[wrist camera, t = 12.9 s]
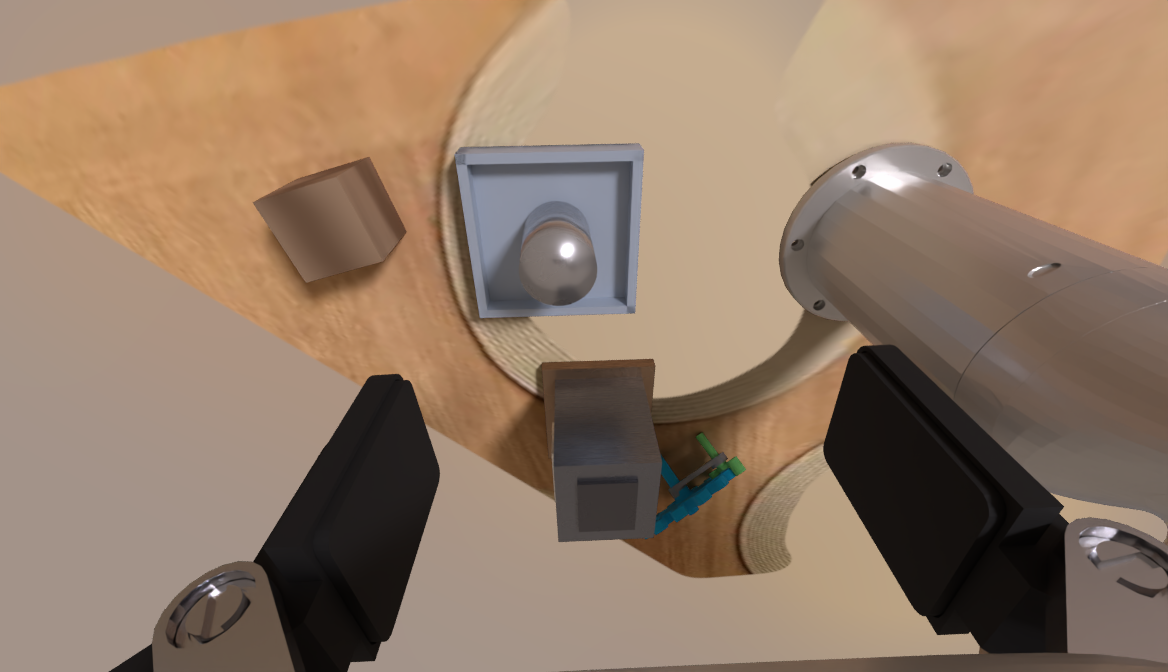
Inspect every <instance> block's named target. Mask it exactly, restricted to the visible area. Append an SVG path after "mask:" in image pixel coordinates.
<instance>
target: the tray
mask: <svg viewBox="0 0 1168 672" xmlns="http://www.w3.org/2000/svg"><path fill="white" fill-rule="evenodd" d="M643 158H644V149H643V148H642V147H641V145H640V144H639V143H636V144H591V145H590V144H589V145H541V146H493V147H461V148H460V149H459V150H458V151H457V152H456V153H455V161H456V167H457V173H458V180H459V186H460V193H461V199H462V206H463V212H464V219H465V225H466V232H467V238H468V245H469V251H470V258H471V264H472V270H473V277H474V283H475V290H476V296H477V303H478V309H479V316H480V318H498V317H530V316H560V315H561V316H563V315H595V314H628V313H635V306H636V288H637V269H638V251H639V232H640V213H641V196H642V177H643ZM551 201H561V202H566V203H569V204H571V205H573V206H575V207H576V208H577V209H579V210H580V211H581V212H582V214H583V215H584V216H585V218H586V220H587V222H588V226H589V230H590V235H591V239H592V244H593V248H594V253H595V258H596V262H597V277H596V281H595V283H594V285H593V287H592V289H591V290H590V291H589V293H588V294H587V295H586V296H584V297H583V298H582V299H580V300H579V301H577V302H575V303H572V304H569V305H564V306H553V305H547V304H544V303H542V302H539V301H538V300H536V299H534V298H533V297H532V296H531V295H529V294H528V292H527V291H526V290H525V289H524V287H523V285H522V283H521V280H520V277H519V262H520V254H521V246H522V239H523V231H524V225H525V222H526V219H527V217H528V216H529V214H530V213H531V212H532V211H533V210H534V209H535V208H536V207H538V206H539V205H541V204H544V203H547V202H551Z"/></svg>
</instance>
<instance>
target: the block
mask: <svg viewBox="0 0 1168 672" xmlns="http://www.w3.org/2000/svg"><path fill="white" fill-rule="evenodd" d="M253 204H254V205H255V207H256V208H257V210H258V211H259V213H260V214H261V216H262V217H263V219H264V220H265V222H266V223H267V225H268V226H269V228H270V229H271V231H272V232H273V234H274V235H275V237H276V238H277V240H278V241H279V243H280V244H281V246H282V247H283V249H284V250H285V252H286V253H287V255H288V256H289V258H290V259H291V261H292V262H293V264H294V266H295V267H296V269H297V270H298V272H299V273H300V275H301V276H302V278H303V279H304V281H305V282H306V283H307V282H311V281H314V280H318V279H322V278H325V277H329V276H332V275H336V274H339V273H343V272H347V271H350V270H354V269H357V268H361V267H364V266H368V265H372V264H375V263H379V262H382V261H384V259H385V258H386V257H387V256H388V254H389V253H390V252H391V251H392V249H393V248H394V247H395V246H396V244H397V243H398V242H399V241H400V239H401V238H402V237H403V236H404V234H405V233H406V230H405V227H404V225H403V223H402V221H401V219H400V217H399V215H398V213H397V211H396V209H395V207H394V205H393V203H392V201H391V199H390V197H389V195H388V193H387V191H386V189H385V187H384V185H383V183H382V181H381V179H380V177H379V175H378V173H377V171H376V169H375V167H374V165H373V163H372V161H371V159H370V157H367V158H364V159H360V160H357V161H354V162H351V163H347V164H344V165H341V166H338V167H334V168H331V169H328V170H325V171H321V172H318V173H315V174H312V175H308V176H305V177H302V178H299V179H296V180H294V181H292V182H290V183H288V184H287V185H285V186H283V187H281V188H279V189H277V190H275V191H273V192H271V193H270V194H268V195H266V196H264V197H262V198H260V199H258V200H256V201H255V202H253Z"/></svg>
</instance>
